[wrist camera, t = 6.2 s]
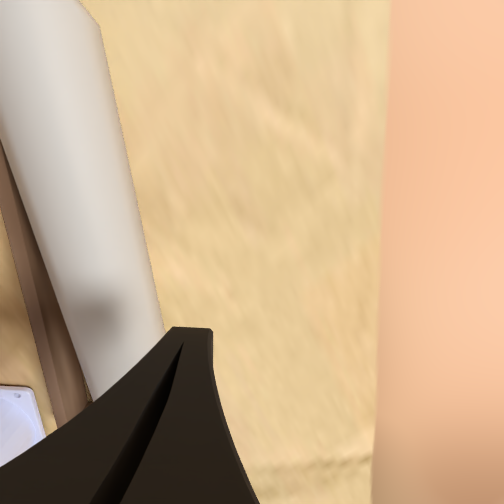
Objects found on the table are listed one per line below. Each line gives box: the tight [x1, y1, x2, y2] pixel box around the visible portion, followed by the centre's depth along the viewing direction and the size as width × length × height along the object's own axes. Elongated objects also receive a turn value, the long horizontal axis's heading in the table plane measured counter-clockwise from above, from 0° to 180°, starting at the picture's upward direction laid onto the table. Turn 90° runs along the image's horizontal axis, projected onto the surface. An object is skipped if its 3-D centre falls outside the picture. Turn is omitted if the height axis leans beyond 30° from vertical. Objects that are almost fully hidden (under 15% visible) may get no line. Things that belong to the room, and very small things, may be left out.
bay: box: [0, 139, 93, 428], centre depth 17 cm, size 5×33×2 cm, turn 176°
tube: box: [0, 0, 166, 402], centre depth 17 cm, size 5×5×25 cm
